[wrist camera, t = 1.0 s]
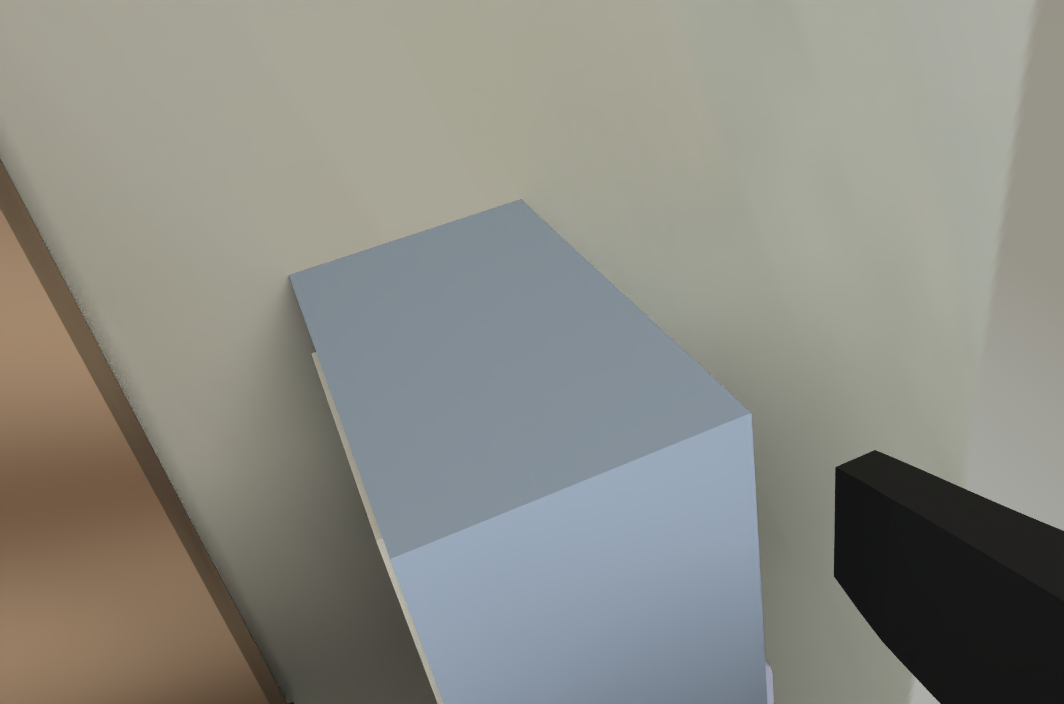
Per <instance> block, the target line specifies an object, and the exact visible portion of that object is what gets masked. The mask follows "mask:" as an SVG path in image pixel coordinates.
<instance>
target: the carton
mask: <svg viewBox="0 0 1064 704" xmlns="http://www.w3.org/2000/svg"><path fill="white" fill-rule="evenodd" d="M289 277H290V280H291V283H292V286H293V289H294V291H295V294H296V297H297V300H298V303H299V305H300V308H301V311H302V314H303V317H304V319H305V322H306V325H307V328H308V331H309V333H310V336H311V339H312V342H313V345H314V347H315V350H316V352H314V353H312V357H313V360H314V363H315V366H316V369H317V372H318V375H319V377H320V380H321V383H322V386H323V389H324V392H325V395H326V398H327V401H328V403H329V406H330V409H331V412H332V415H333V418H334V421H335V424H336V427H337V429H338V432H339V435H340V438H341V441H342V444H343V447H344V450H345V452H346V455H347V458H348V461H349V464H350V467H351V470H352V473H353V476H354V478H355V481H356V484H357V487H358V490H359V493H360V496H361V499H362V502H363V504H364V507H365V510H366V513H367V516H368V519H369V522H370V525H371V528H372V530H373V533H374V536H375V539H376V542H377V545H378V547H379V550H380V552H381V555H382V558H383V560H384V563H385V566H386V568H387V571H388V574H389V576H390V579H391V582H392V584H393V587H394V589H395V592H396V595H397V597H398V600H399V603H400V605H401V608H402V611H403V613H404V616H405V619H406V621H407V624H408V626H409V629H410V632H411V634H412V637H413V640H414V642H415V645H416V648H417V650H418V653H419V656H420V658H421V661H422V664H423V666H424V669H425V671H426V674H427V677H428V679H429V682H430V685H431V687H432V690H433V693H434V695H435V698H436V701H437V703H438V704H768V703H767V685H766V667H765V648H764V630H763V612H762V594H761V576H760V558H759V539H758V521H757V503H756V485H755V467H754V449H753V431H752V413H751V412H750V411H749V410H748V409H747V408H746V407H745V406H744V405H743V404H741V403H740V402H739V401H738V400H737V399H736V398H735V397H734V396H733V395H732V394H731V393H730V392H729V391H727V390H726V389H725V388H724V387H723V386H722V385H721V384H720V383H719V382H718V381H717V380H716V379H714V378H713V377H712V376H711V375H710V374H709V373H708V372H707V371H706V370H705V369H704V368H703V367H701V366H700V365H699V364H698V363H697V362H696V361H695V360H694V359H693V358H692V357H691V356H690V355H689V354H687V353H686V352H685V351H684V350H683V349H682V348H681V347H680V346H679V345H678V344H677V343H676V342H674V341H673V340H672V339H671V338H670V337H669V336H668V335H667V334H666V333H665V332H664V331H663V330H662V329H660V328H659V327H658V326H657V325H656V324H655V323H654V322H653V321H652V320H651V319H650V318H649V317H647V316H646V315H645V314H644V313H643V312H642V311H641V310H640V309H639V308H638V307H637V306H636V305H635V304H633V303H632V302H631V301H630V300H629V299H628V298H627V297H626V296H625V295H624V294H623V293H622V292H620V291H619V290H618V289H617V288H616V287H615V286H614V285H613V284H612V283H611V282H610V281H609V280H607V279H606V278H605V277H604V276H603V275H602V274H601V273H600V272H599V271H598V270H597V269H596V268H595V267H593V266H592V265H591V264H590V263H589V262H588V261H587V260H586V259H585V258H584V257H583V256H582V255H580V254H579V253H578V252H577V251H576V250H575V249H574V248H573V247H572V246H571V245H570V244H569V243H568V242H566V241H565V240H564V239H563V238H562V237H561V236H560V235H559V234H558V233H557V232H556V231H555V230H553V229H552V228H551V227H550V226H549V225H548V224H547V223H546V222H545V221H544V220H543V219H542V218H540V217H539V216H538V215H537V214H536V213H535V212H534V211H533V210H532V209H531V208H530V207H529V206H528V205H526V204H525V203H524V202H523V201H522V200H521V199H520V200H517V201H514V202H511V203H508V204H505V205H502V206H499V207H496V208H493V209H490V210H487V211H483V212H480V213H477V214H474V215H471V216H468V217H465V218H462V219H459V220H456V221H453V222H450V223H447V224H444V225H441V226H438V227H435V228H431V229H428V230H425V231H422V232H419V233H416V234H413V235H410V236H407V237H404V238H401V239H398V240H395V241H392V242H389V243H386V244H383V245H379V246H376V247H373V248H370V249H367V250H364V251H361V252H358V253H355V254H352V255H349V256H346V257H343V258H340V259H337V260H334V261H331V262H327V263H324V264H321V265H318V266H315V267H312V268H309V269H306V270H303V271H300V272H297V273H294V274H291V275H289Z"/></svg>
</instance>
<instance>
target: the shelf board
mask: <svg viewBox="0 0 1064 704" xmlns="http://www.w3.org/2000/svg"><path fill="white" fill-rule="evenodd" d="M0 704H287V703H286V701H285V699H284V697H283V696H282V694H281V692H280V690H279V688H278V686H277V684H276V682H275V680H274V678H273V677H272V675H271V673H270V671H269V669H268V667H267V665H266V663H265V661H264V659H263V658H262V656H261V654H260V652H259V650H258V648H257V646H256V644H255V642H254V640H253V639H252V637H251V635H250V633H249V631H248V629H247V627H246V625H245V623H244V621H243V620H242V618H241V616H240V614H239V612H238V610H237V608H236V606H235V604H234V602H233V601H232V599H231V597H230V595H229V593H228V591H227V589H226V587H225V585H224V583H223V582H222V580H221V578H220V576H219V574H218V572H217V570H216V568H215V566H214V564H213V563H212V561H211V559H210V557H209V555H208V553H207V551H206V549H205V547H204V545H203V544H202V542H201V540H200V538H199V536H198V534H197V532H196V530H195V528H194V526H193V525H192V523H191V521H190V519H189V517H188V515H187V513H186V511H185V509H184V507H183V506H182V504H181V502H180V500H179V498H178V496H177V494H176V492H175V490H174V488H173V487H172V485H171V483H170V481H169V479H168V477H167V475H166V473H165V471H164V469H163V468H162V466H161V464H160V462H159V460H158V458H157V456H156V454H155V452H154V450H153V449H152V447H151V445H150V443H149V441H148V439H147V437H146V435H145V433H144V431H143V430H142V428H141V426H140V424H139V422H138V420H137V418H136V416H135V414H134V412H133V411H132V409H131V407H130V405H129V403H128V401H127V399H126V397H125V395H124V393H123V392H122V390H121V388H120V386H119V384H118V382H117V380H116V378H115V376H114V374H113V373H112V371H111V369H110V367H109V365H108V363H107V361H106V359H105V357H104V355H103V354H102V352H101V350H100V348H99V346H98V344H97V342H96V340H95V338H94V336H93V335H92V333H91V331H90V329H89V327H88V325H87V323H86V321H85V319H84V317H83V316H82V314H81V312H80V310H79V308H78V306H77V304H76V302H75V300H74V298H73V297H72V295H71V293H70V291H69V289H68V287H67V285H66V283H65V281H64V279H63V278H62V276H61V274H60V272H59V270H58V268H57V266H56V264H55V262H54V260H53V259H52V257H51V255H50V253H49V251H48V249H47V247H46V245H45V243H44V241H43V240H42V238H41V236H40V234H39V232H38V230H37V228H36V226H35V224H34V222H33V221H32V219H31V217H30V215H29V213H28V211H27V209H26V207H25V205H24V203H23V202H22V200H21V198H20V196H19V194H18V192H17V190H16V188H15V186H14V184H13V183H12V181H11V179H10V177H9V175H8V173H7V171H6V169H5V167H4V165H3V164H2V162H1V160H0Z"/></svg>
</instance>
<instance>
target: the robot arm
mask: <svg viewBox="0 0 1064 704" xmlns="http://www.w3.org/2000/svg"><path fill="white" fill-rule="evenodd" d="M834 577H835V578H836V580H837V581H838V582H839V584H840V585H841V587H842V588H843V589H844V591H845V592H846V594H847V595H848V596H849V598H850V599H851V600H852V602H853V603H854V605H855V606H856V607H857V609H858V610H859V612H860V613H861V614H862V616H863V617H864V618H865V619H866V621H867V622H868V623H869V625H870V626H871V627H872V629H873V630H874V631H875V633H876V634H877V635H878V636H879V638H880V639H881V640H882V642H883V643H884V644H885V645H886V646H887V647H888V648H889V649H890V650H891V651H892V653H893V654H894V655H895V656H896V657H897V658H898V659H899V660H900V661H901V662H902V663H903V664H904V665H905V666H906V668H907V669H908V670H909V671H910V672H911V673H912V674H913V675H914V676H915V677H916V678H917V679H918V680H919V681H920V682H921V683H922V684H923V686H924V687H925V688H926V689H927V690H928V691H929V692H930V693H931V694H932V695H933V696H934V697H935V698H936V699H937V700H938V701H939V702H940V703H941V704H1064V531H1062V530H1060V529H1057V528H1055V527H1052V526H1050V525H1048V524H1045V523H1043V522H1040V521H1038V520H1036V519H1033V518H1031V517H1028V516H1026V515H1024V514H1021V513H1019V512H1016V511H1014V510H1012V509H1010V508H1007V507H1005V506H1002V505H1000V504H998V503H996V502H993V501H991V500H989V499H986V498H984V497H982V496H980V495H977V494H975V493H973V492H970V491H968V490H966V489H964V488H961V487H959V486H957V485H955V484H952V483H950V482H948V481H945V480H943V479H941V478H939V477H936V476H934V475H932V474H930V473H927V472H925V471H923V470H921V469H918V468H916V467H914V466H911V465H909V464H907V463H905V462H902V461H900V460H898V459H895V458H893V457H890V456H888V455H886V454H883V453H881V452H878V451H876V450H874V451H872V452H870V453H867V454H865V455H863V456H860V457H858V458H856V459H853V460H851V461H849V462H847V463H844V464H842V465H840V466H837V467H836V472H835V541H834ZM765 667H766V685H767V703H768V704H774V695H773V674H772V669H771V667H770V666H769V665H768V663H767V662H766V661H765ZM289 704H294V703H293V702H291V703H289Z"/></svg>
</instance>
